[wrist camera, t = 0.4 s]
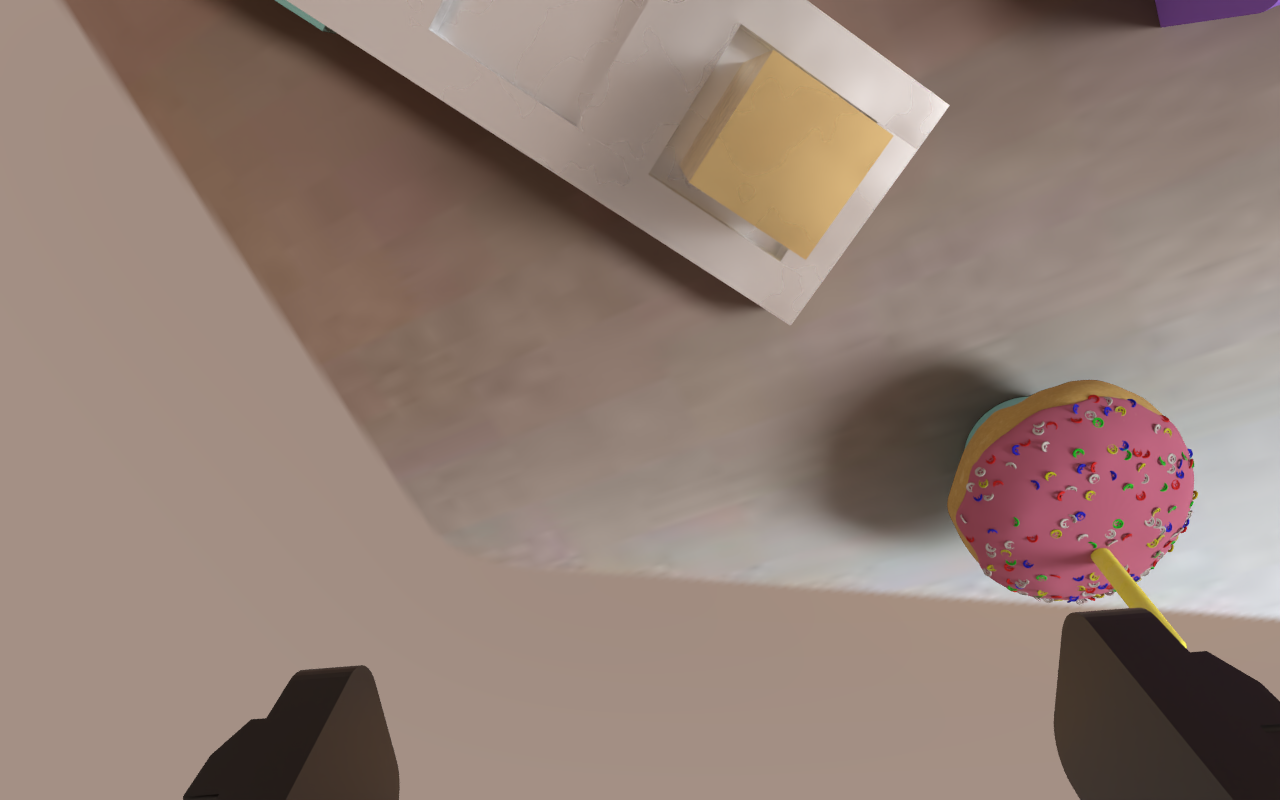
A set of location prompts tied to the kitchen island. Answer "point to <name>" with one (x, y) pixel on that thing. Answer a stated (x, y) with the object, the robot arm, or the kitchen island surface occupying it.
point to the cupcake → (1073, 493)
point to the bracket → (1207, 10)
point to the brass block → (783, 151)
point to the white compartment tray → (643, 105)
